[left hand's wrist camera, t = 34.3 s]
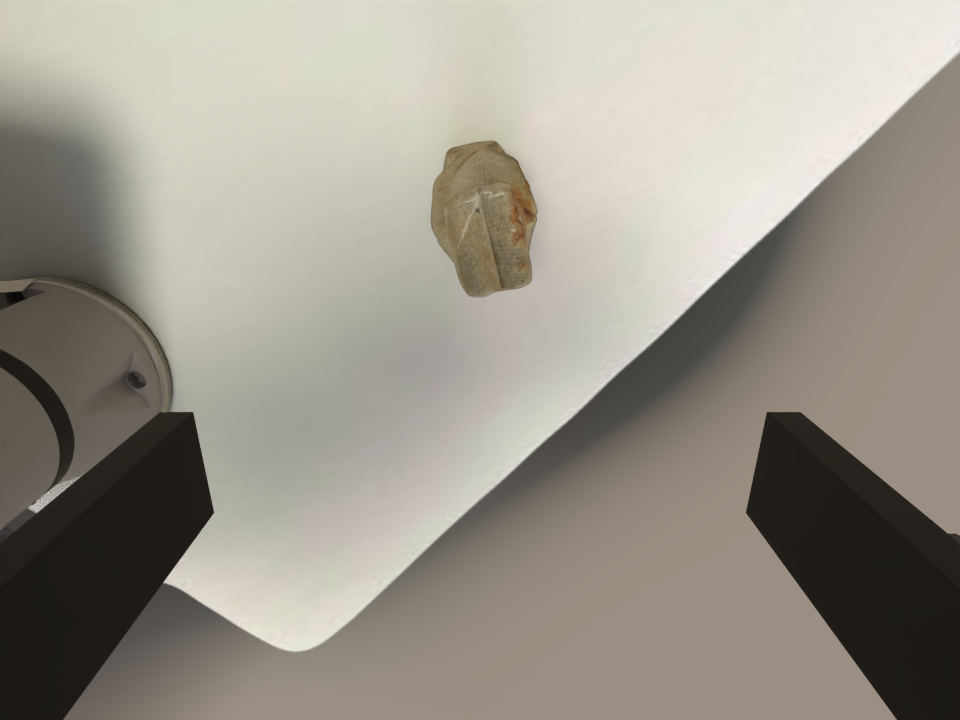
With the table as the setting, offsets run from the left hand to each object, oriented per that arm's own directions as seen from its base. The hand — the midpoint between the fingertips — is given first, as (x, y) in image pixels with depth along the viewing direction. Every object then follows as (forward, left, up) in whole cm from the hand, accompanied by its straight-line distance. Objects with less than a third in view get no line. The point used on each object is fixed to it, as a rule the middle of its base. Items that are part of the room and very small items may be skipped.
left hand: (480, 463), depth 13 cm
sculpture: (+3, +2, -29) cm, 29 cm away
